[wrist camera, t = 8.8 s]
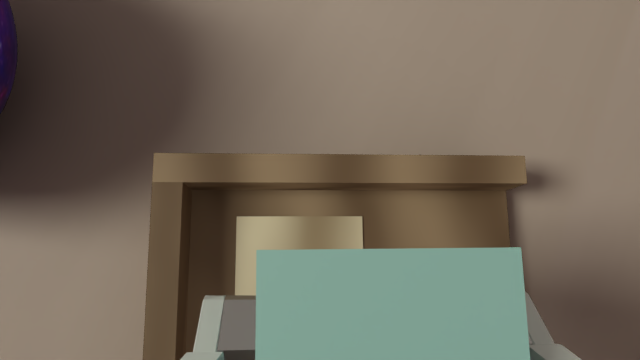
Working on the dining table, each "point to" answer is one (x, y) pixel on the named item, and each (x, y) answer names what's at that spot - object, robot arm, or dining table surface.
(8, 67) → the decorative orb
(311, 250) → the teal block
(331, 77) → the dining table surface
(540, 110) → the dining table surface
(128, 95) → the dining table surface
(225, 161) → the tray
